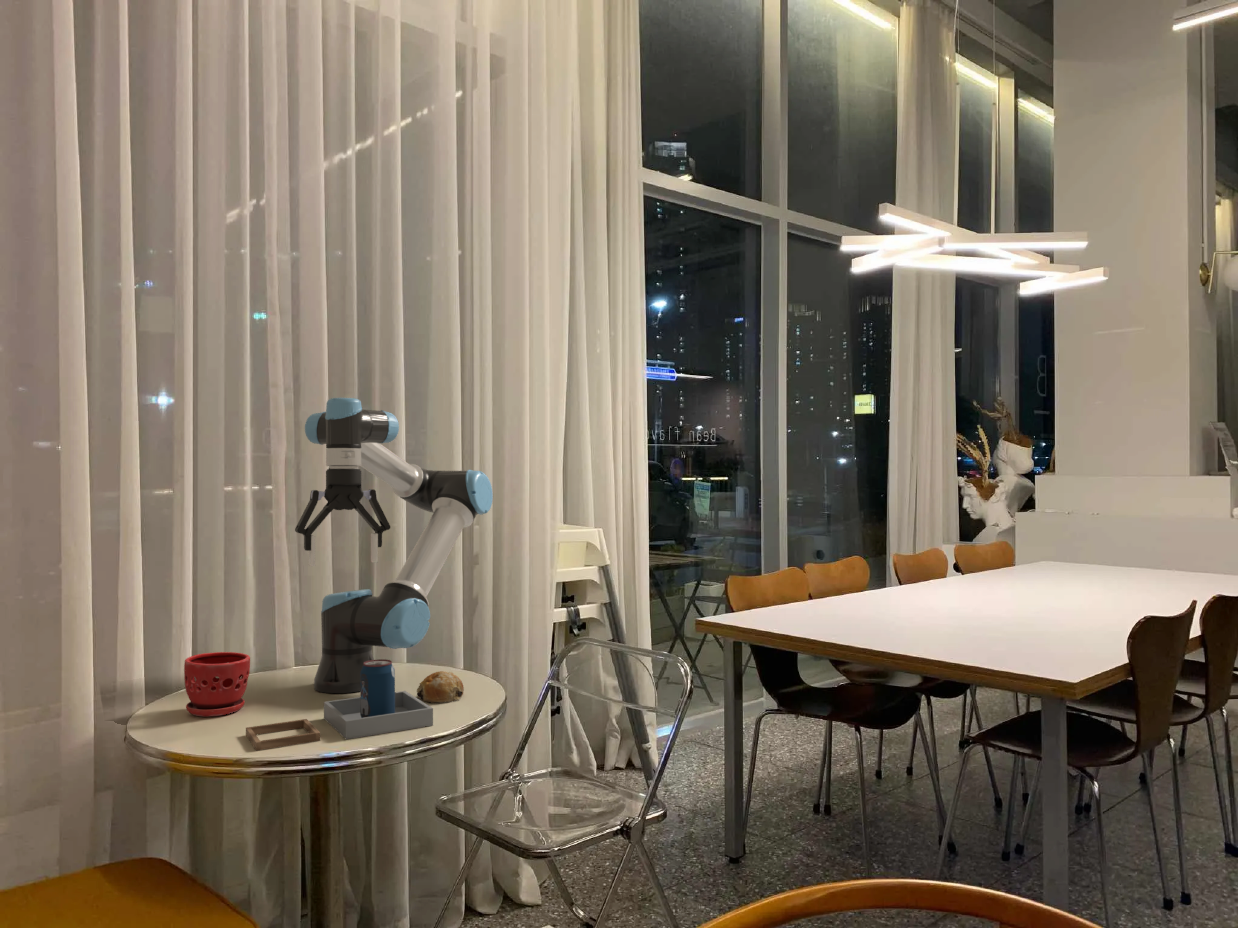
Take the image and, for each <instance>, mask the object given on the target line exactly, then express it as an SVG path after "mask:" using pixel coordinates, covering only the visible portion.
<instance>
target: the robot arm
mask: <svg viewBox="0 0 1238 928" xmlns="http://www.w3.org/2000/svg"><path fill="white" fill-rule="evenodd" d="M325 405H326V407H325V411H322V412H317V413H316V412H315V413H312V414H311V415H309V416H308V417H307V419H306V421H305V424H304V434H305V436H306V438H307V440H308V441H309V442H311V443H312V444H317V445H320V446H321V445H322V446H323V445H325V466H326V467H328V468H327V469H326V470H325V490H324V491H322V490H317V489H312V490H310V497H309V500H308V503H307V505H306V507H305V509H304V511H303V513H302V515H301V517H300V519H299V520H298V523H297V525H296V526H295V527H294V532H296V533H297V534H301V535H302V536H303V549H304V551H307V552H308V566H310V567H316V535H313V533H314V532H315V531H316V530H317V529H318V528H319V526H320V525H321V524H322V523H323V521H324V520H325V519H326V518H327V517H328V515H330V513H331V512H333V510H335V511H344V510H345V511H346V510H347V511H352V510H355V511H357V513H358V514H359V515H360V516H361V517H362V519H363V520H364V522H366V523H367V525H368V526H369V527H370V528H371V529H372V530H373V532H371V533H370V562H371V563H379V553H378V552H379V548H382V547H383V533H384V532H386V531H388V530H390V529H391V525H390V523H389V521H388V518H387V517H386V514H385V512H384V511H383V509H382V506H381V505H380V503H379V501H378V498H377V491H376V490H375V489H368V490H363V488H362V470H361V468H362V469H364V470H366V471H367V472H368V473H370V474H372V475H373V476H374V477H376V478H378V479H379V480H380V481H382V482H384V483H385V484H386V485H388V486H389V487H391V489H392V491H393V493H394V494H395V495H396V496H397V497H399V498H400V499H402V500H403V501H405V502H407V503H408V504H410V505H413V506H414V507H416V508H419V510H424V511H426V512H429V513H432V515H431V517H430V519H428V522H427V524H426V526H425V528H424V530H423V531H422V533H421V534H420V536H419V538H418V540H417V541H416V542H415V545H414V547H413V549H412V550H411V552H410V554H409V556H408V557H407V559H406V561H405V562H404V565H403V566H402V568H401V569H400V572H399V573H398V575H397V577H396V578H395V580H394V581H389V582H387V583H385V585H384V586H383V588H382V590H381V591H380V593H379V595H378V596H376V595H375V596H373V592H372V590H371V589H369V588H366V589H363V588H362V589H356V590H355V589H354V590H348V591H341V592H335V593H334V592H333V593H330V594H327V595H324V597H323V599H322V601H321V603H322V605H321V611H320V612H321V613H320V614H321V615H320V616H321V619H320V620H321V658H320V662H319V664H318V667H317V671H316V673H315V675H314V682H313V683H314V684H313V689H314V690H315V691H317V692H320V693H326V694H346V693H347V694H349V693H357V692H360V672H361V669H362V667H363V663H364V662H366V661H370V660H375V659H374V656H373V655H374V654H373V647H382V648H383V647H384V648H390V649H395V650H397V649H409V648H413V647H415V646H416V645H418V644H419V643H420V642H422V640H423V639H424V638H425V636H426V634H427V633H428V630H429V627H430V623H431V622H429V620H430V619H431V611H430V608H429V605H430V603H429V600H428V598H427V597H428V595H429V593H430V591H431V590H432V587H433V586H434V583H435V582H436V580H437V578H438V576H439V574H440V572H441V570H442V568H443V567H444V565H445V563H446V562H447V560H448V557H449V555H450V554H451V551H452V549H453V548H454V546H455V544H456V543H457V540H458V538H459V537H460V534H461V533H462V530H463V529H466V528H468V527H471V525H472V524H473V522H474V521H475V518H476V517H477V515H479V516H480V515H481V516H483V515H485V514H487V513H488V512H489V511H491V509H492V504H493V497H494V496H493V495H494V494H493V488H492V487H493V486H492V483H491V481H490V479H489V477H488V475H486V474H485V473H484V472H483V471H481V470H472V469H467V470H431V469H425V468H422V467H420V466H419V465H417V464H415V463H409V462H407V461H405V460H404V459H403V458H402V457H400V456H399V455H397V454H396V453H394V452H393V451H391V450H390V449H388V448H387V447H386V446H384V445H382V444H386V443H387V444H388V443H391V442H393V441H395V439H396V438H397V437H398V434H399V432H400V426H399V425H400V423H399V421H398V418H397V417H396V415H395V414H393V413H391V412H388V411H385V410H382V409H381V410H372V409H363V407H362V401H361V399H358V398H355V397H354V398H353V397H333V398H329V399H327V400H326V404H325ZM359 467H361V468H359ZM323 497H324V499H325V500H326V501H327V503H326V504H325V505H324V506H323V508H322V509H321V511H319V513H318V514H317V515H316V516H315V517H314V519H313V520H312V521H311V522H310V523H309V525H308V522H309V520H310V518H311V516H312V515H313V513H314V510H315V508H316V506H317V504H318V501H320V500H322V498H323ZM363 497H365V499H366V500H368V502H369V504H370V506H371V508H372V511H373V512H374V515H375V516H376V518H377V520H378V522H379V523H378V522H377V521H376V520H375V519H374V518H373V516H372V515H371V514H370V513H369V512H368V511H367V509H366V508H365V507H364V505H363V504H362V503H361V502H360V501H361V500H362V499H363ZM379 524H380V525H379ZM307 525H308V526H307Z"/></svg>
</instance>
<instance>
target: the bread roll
mask: <svg viewBox="0 0 1238 928" xmlns="http://www.w3.org/2000/svg"><path fill="white" fill-rule="evenodd" d="M464 691H465V687H464V684H463V682H462V680H461V678H460V676H457V675H456V674H454V673H453V672H452V671H444V670H441V671H436V672H433V673H431V674H429V675H427V676H426V677H425V678H424V679H423V680H422V681H420V682H419V684H418V687H417V689H416V696H417V697H418V698H419V700H421V701H422V702H424V703H429V702H431V703H430V704H435V703H436V704H437V703H438V704H439V703H440V704H445V703H444V702H447V703H452V701H453V702H458V701H460V700H461V698H462V696H463V695H464Z"/></svg>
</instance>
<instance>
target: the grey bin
mask: <svg viewBox="0 0 1238 928" xmlns="http://www.w3.org/2000/svg"><path fill="white" fill-rule="evenodd" d="M323 719H324V720H325V721H326V722H327V723H328V724H329V725H330V726H331V727H332V728H333V729H334V730H335V731H336V732H338V734H340V735H341V736H342V738H344V739H345V740H351V739H356V738H358V739H359V738H362V737H369V736H370V737H371V736H376V735H381V734H387V733H394V732H395V733H396V732H400V731H401V732H402V731H406V730H413V729H418V728H419V729H420V728H425V726H427V727H431V726H432V725H433V726H434V708H433V707H432V706H430V705H428V703H426V702H424V701H422V700H420V698H417V697H416V696H414V695H413V694H411V693H410V692H408V691H406V690H401V691H395V713H391V714H384V715H378V716H371V717H364V718H362V717H361V715H360V696H357V697H356V696H355V697H349V698H342V699H335V700H328V701H323Z"/></svg>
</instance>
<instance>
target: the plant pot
mask: <svg viewBox="0 0 1238 928" xmlns="http://www.w3.org/2000/svg"><path fill="white" fill-rule="evenodd" d="M183 665H184V666H183V667H184V668H183V671H184V673H183V675H184V677H183V681H184V686H185V692H186V694H187V697H188V699H189V701H190V702H188V703H186V705H185V709H186V711H187V712H188V713H189V714H191V715H193V716H195V717H196V716H197V717H202V718H204V717H205V718H208V717H209V718H210V717H221V716H222V717H223V716H226V714H227V715H231V714H233V712H234V713H236V712H238V711H240V710H241V709H242V708H243V707H244V705H245V699H244V698H243V696H244V694H245V692H246V690H247V688H248V687H247V686H248V679H249V676H250V671H251V657H250V655H249V654H246V653H243V652H242V653H241V652H236V651H235V652H233V651H219V652H214V651H213V652H205V653H199V654H194V655H192V656H189V657H187V658H185V660H184V664H183ZM230 713H231V714H230Z"/></svg>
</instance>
